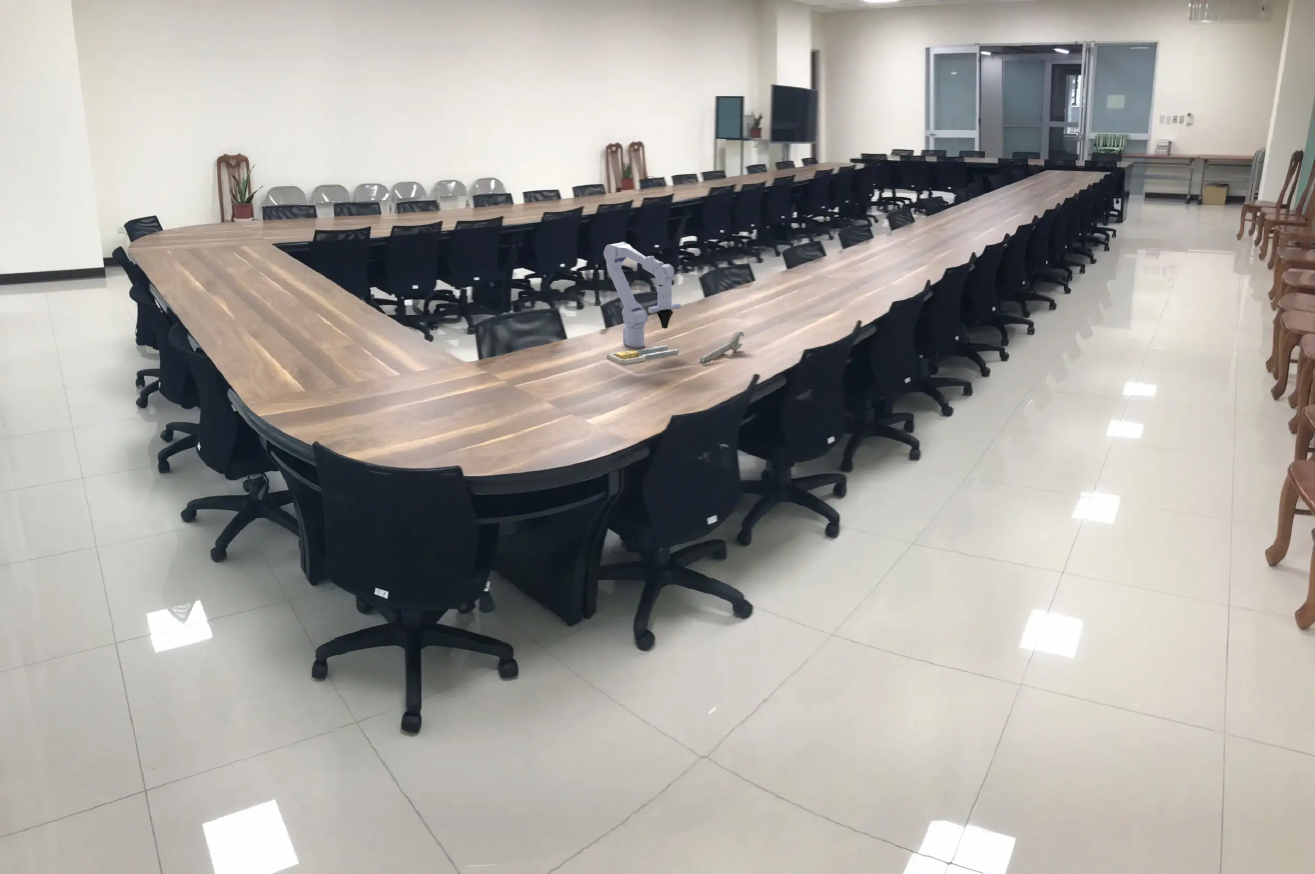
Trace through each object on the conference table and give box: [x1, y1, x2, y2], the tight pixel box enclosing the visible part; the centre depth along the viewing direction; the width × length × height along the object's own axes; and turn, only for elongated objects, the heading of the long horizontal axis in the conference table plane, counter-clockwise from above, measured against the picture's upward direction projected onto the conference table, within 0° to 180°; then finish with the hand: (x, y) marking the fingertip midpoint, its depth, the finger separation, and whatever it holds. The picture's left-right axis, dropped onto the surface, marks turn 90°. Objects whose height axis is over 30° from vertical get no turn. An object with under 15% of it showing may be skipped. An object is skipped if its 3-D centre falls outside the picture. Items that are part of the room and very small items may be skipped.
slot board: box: [635, 344, 681, 362], centre depth 370 cm, size 12×17×2 cm
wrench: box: [699, 330, 745, 365], centre depth 369 cm, size 8×2×30 cm
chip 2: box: [625, 349, 639, 359], centre depth 364 cm, size 4×4×3 cm
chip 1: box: [615, 351, 630, 360], centre depth 362 cm, size 4×4×3 cm
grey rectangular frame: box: [606, 349, 645, 365], centre depth 363 cm, size 12×10×2 cm
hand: (664, 328), depth 372 cm, fingers closed
